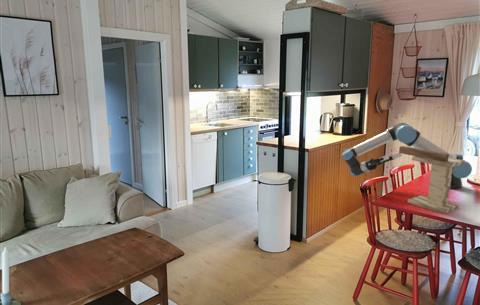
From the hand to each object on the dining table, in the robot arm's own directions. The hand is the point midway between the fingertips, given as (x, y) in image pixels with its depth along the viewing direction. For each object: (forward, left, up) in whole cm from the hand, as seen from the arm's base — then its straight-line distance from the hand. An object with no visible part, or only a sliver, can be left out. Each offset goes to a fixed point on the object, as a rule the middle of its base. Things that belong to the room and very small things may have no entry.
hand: (394, 155), depth 231 cm
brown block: (0, +18, +3) cm, 18 cm away
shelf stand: (-4, +25, -27) cm, 37 cm away
